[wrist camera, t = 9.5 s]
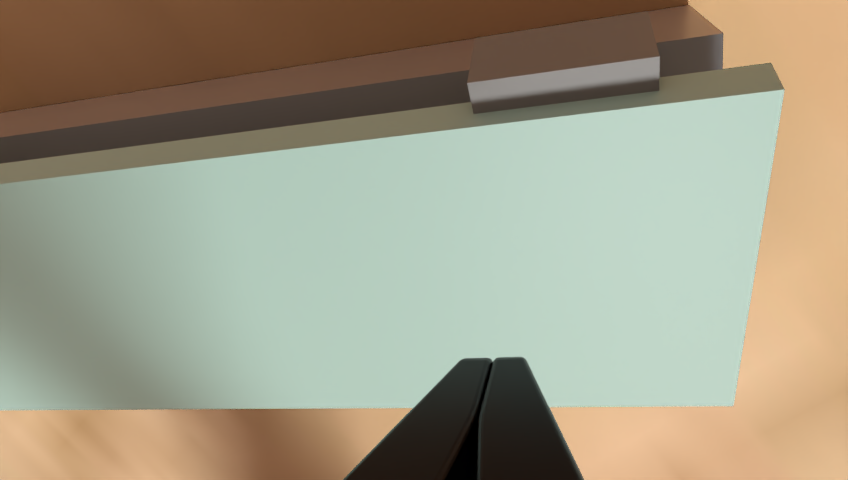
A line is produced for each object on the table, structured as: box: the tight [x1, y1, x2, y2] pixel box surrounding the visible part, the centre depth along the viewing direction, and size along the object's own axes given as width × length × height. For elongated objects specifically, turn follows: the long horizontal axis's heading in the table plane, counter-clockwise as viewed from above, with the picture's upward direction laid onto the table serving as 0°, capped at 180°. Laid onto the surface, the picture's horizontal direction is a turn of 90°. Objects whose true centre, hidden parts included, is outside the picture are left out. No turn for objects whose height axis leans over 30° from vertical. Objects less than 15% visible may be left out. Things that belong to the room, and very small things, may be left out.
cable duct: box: [0, 5, 723, 164], centre depth 18 cm, size 8×22×4 cm, turn 101°
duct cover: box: [0, 11, 785, 410], centre depth 16 cm, size 9×22×2 cm, turn 101°
